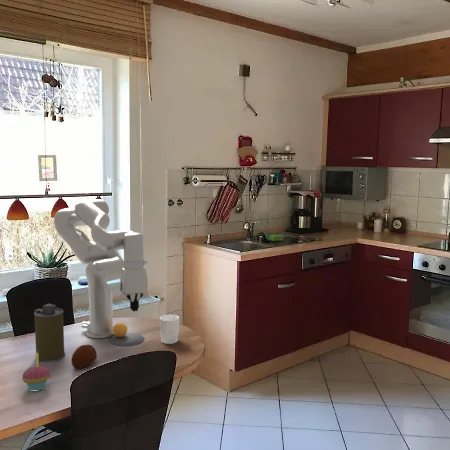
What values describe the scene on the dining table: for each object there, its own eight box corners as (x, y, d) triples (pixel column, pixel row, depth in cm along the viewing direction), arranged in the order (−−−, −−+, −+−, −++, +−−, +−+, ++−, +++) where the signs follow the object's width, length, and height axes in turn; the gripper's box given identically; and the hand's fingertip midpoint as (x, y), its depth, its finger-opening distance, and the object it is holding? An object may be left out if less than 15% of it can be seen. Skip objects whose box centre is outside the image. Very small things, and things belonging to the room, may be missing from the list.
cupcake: (27, 382, 168) (26, 348, 166) (53, 382, 169) (52, 347, 167) (19, 395, 160) (17, 359, 158) (47, 394, 160) (45, 358, 159)
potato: (102, 360, 186) (102, 340, 185) (86, 373, 175) (85, 352, 174) (84, 358, 188) (83, 338, 187) (66, 371, 177) (66, 349, 176)
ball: (107, 331, 208) (117, 333, 205) (114, 318, 212) (124, 320, 208) (115, 338, 212) (125, 341, 209) (123, 326, 215) (132, 328, 212)
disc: (103, 344, 202) (103, 343, 202) (119, 332, 216) (119, 331, 216) (135, 347, 199) (135, 347, 199) (149, 335, 212) (149, 335, 212)
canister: (70, 353, 193) (69, 302, 190) (53, 363, 183) (51, 310, 180) (47, 349, 197) (45, 299, 194) (28, 359, 187) (26, 307, 184)
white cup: (180, 337, 210) (180, 314, 209) (177, 345, 202) (177, 321, 201) (162, 337, 211) (162, 314, 209) (157, 344, 203) (157, 320, 202)
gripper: (148, 260, 202) (148, 305, 205) (112, 264, 194) (112, 310, 197) (155, 264, 196) (156, 310, 198) (118, 268, 188) (119, 316, 191)
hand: (134, 310), depth 198 cm, fingers closed
